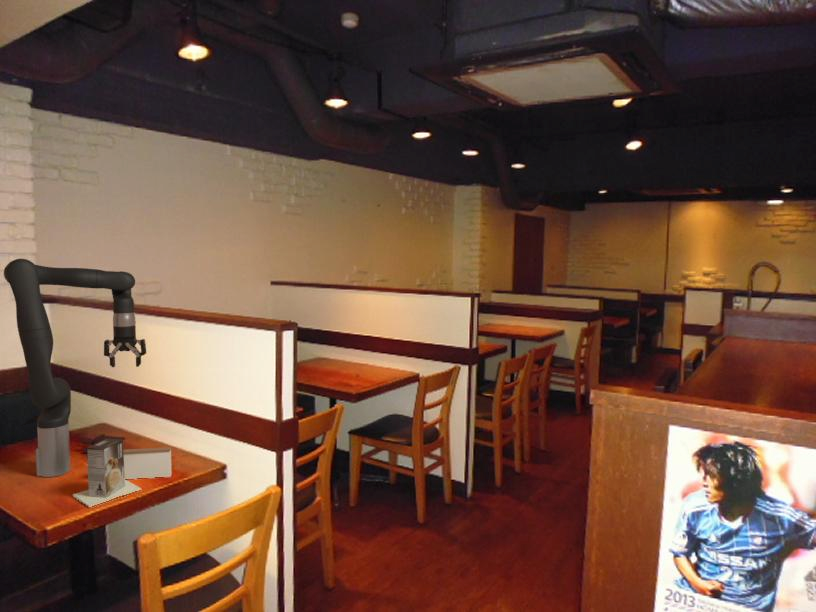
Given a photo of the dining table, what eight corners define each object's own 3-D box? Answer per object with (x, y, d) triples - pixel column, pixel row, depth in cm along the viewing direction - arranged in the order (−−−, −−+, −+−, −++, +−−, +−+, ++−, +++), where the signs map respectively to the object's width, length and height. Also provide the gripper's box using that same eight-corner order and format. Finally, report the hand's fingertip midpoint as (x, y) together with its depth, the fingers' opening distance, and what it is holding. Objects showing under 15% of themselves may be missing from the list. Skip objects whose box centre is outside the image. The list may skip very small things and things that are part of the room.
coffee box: (107, 484, 183) (106, 437, 181) (125, 486, 182) (124, 439, 180) (87, 496, 173) (86, 447, 172) (106, 498, 173) (104, 448, 171)
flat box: (100, 482, 186) (99, 453, 186) (103, 479, 189) (101, 450, 188) (170, 477, 191) (169, 449, 190) (171, 474, 194) (170, 446, 193)
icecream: (124, 429, 222) (81, 437, 215) (124, 429, 216) (80, 438, 209) (126, 446, 222) (83, 455, 214) (126, 447, 215) (82, 457, 208)
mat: (89, 508, 168) (88, 505, 168) (72, 496, 175) (72, 494, 175) (141, 490, 180) (141, 488, 180) (124, 481, 188) (124, 478, 187)
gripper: (100, 326, 203) (102, 369, 204) (142, 325, 206) (143, 368, 207) (106, 323, 210) (108, 365, 212) (147, 322, 213) (148, 364, 215)
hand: (125, 366), depth 210 cm, fingers open, 8 cm apart
